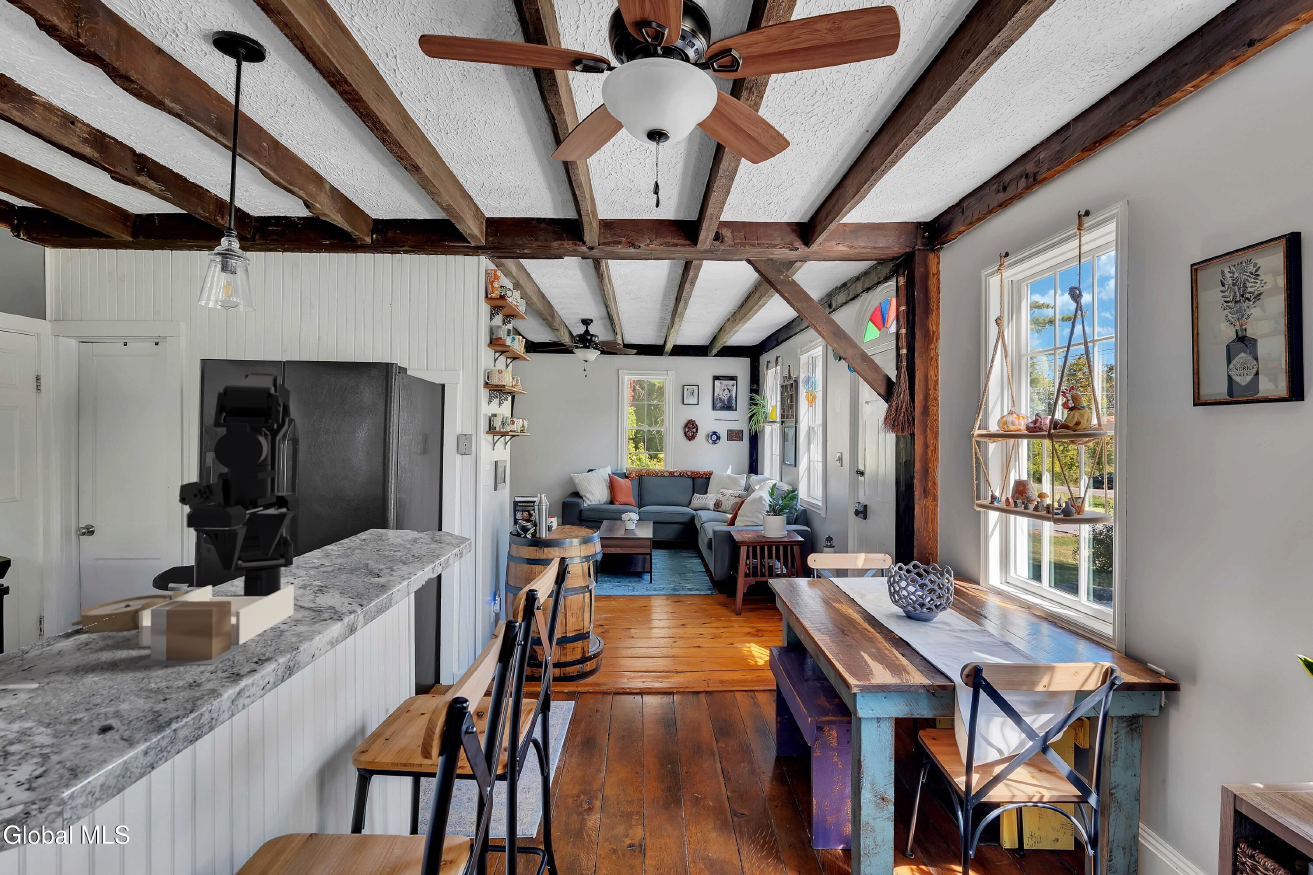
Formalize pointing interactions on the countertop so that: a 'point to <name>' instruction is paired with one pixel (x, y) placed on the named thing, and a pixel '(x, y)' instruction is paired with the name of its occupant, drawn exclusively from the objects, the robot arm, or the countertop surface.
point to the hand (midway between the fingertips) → (247, 562)
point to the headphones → (120, 613)
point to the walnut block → (190, 630)
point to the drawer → (235, 613)
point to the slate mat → (188, 662)
